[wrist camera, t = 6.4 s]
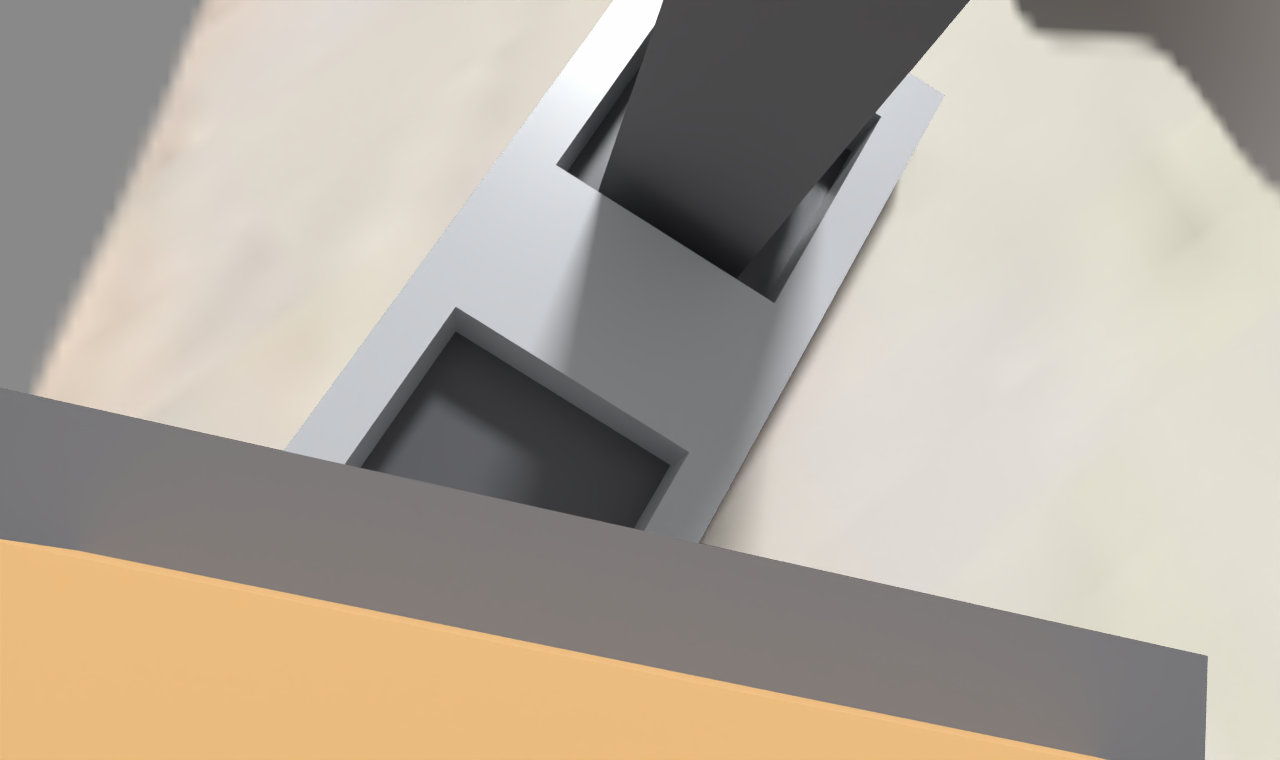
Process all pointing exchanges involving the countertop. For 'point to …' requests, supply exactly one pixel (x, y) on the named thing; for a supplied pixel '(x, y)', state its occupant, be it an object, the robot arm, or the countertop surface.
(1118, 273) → the countertop surface
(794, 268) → the light grey recessed block
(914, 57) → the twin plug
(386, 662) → the orange grey tall block
